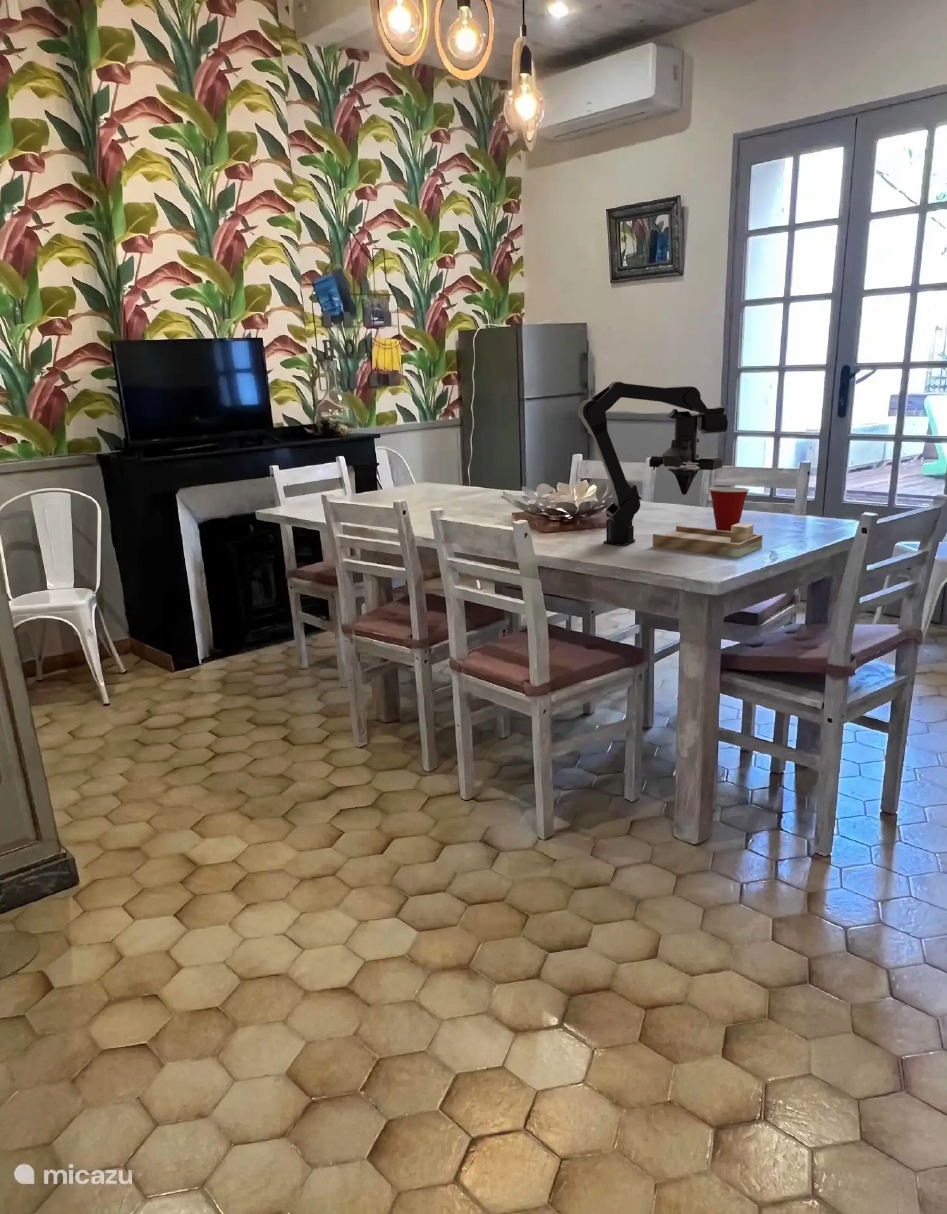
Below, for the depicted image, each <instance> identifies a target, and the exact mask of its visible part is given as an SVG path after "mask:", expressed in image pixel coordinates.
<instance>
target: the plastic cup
mask: <svg viewBox="0 0 947 1214" xmlns="http://www.w3.org/2000/svg"><path fill="white" fill-rule="evenodd" d="M708 490H709V493H710V497H711V501H712V508H713V509H712V510H713V518H714V522H715V528H716V529H715V530H723V531H731V526H733V525H735V524H738V523H740V522H741V517H742V514H743V508H744V507H745V506H744V504H745V501H746V498H747V494H748V492H749V491H750V488H745V487H735V486H730V487H729V486H728V487H727V486H715V487H712V486H711V487H708Z"/></svg>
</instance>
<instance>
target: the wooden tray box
mask: <svg viewBox="0 0 947 1214" xmlns="http://www.w3.org/2000/svg"><path fill="white" fill-rule="evenodd" d="M675 528H676V529H675V530H674V531H672V532H668V533H665V534H657V533H653V534H652V547H655V548H663V549H670V550H671V549H672V550H680V551H687V552H694V553H701V554H711V555H718V556H726V557H733V558H734V557H735V558H741V557H743V556H745V555H748V554H750V553H751V552H754V551H757V550H758V549H759V550H760V549H761V548H763V534H758V533H753V537H752V538H750V539H748V540H745V541H743V542H740V543H739V542H731V531H723V530H717V529H712V528H711V529H710V528H704V527H702V528H701V527H693V526H683V525H676V527H675Z"/></svg>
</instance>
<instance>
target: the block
mask: <svg viewBox="0 0 947 1214" xmlns="http://www.w3.org/2000/svg"><path fill="white" fill-rule="evenodd" d="M753 534H754V524H750V523H749V524H748V523H740V522H739V523H738V524H735V525H733V526H731V542H739V543H740V542H743V541H745V540H748V539H750V538H752V537H753Z"/></svg>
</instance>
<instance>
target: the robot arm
mask: <svg viewBox="0 0 947 1214" xmlns="http://www.w3.org/2000/svg"><path fill="white" fill-rule="evenodd" d="M621 398H626V399H634V400H641V401H650V402H660V403H663V404H666V405H670V406H672V407H676V408H672V410H671V411H670V412H669V413H668V414H667V415H666V418H667V419H671V420H673V419H674V439H672V440H671V442H670V444H671V445H670V448H667V450H665V451H664V452H663V453H661V454H656V455H652V456H651V457H650V458H649V460H648V462H649V463H648V466H649V467H650V468H660V467H661V466H662V465H663V467H665V468H666V467H667V470H668V472H671V473H672V475H674V476H675V478H676V479H675V480H676V482H677V483H678V486H679V489H680V492H681V495H682V496H683V495H685V496H686V495H687V493H688V492H689V489H690V487H691V485H692V483H693V481H694V479H695V477H696V476H697V474H698V472H699V471H715V470H717V469H722V468H723V459H722V458H721V457H720V456H704V457H701V458H699V457H700V456H699V455H700V454H699V453H697V448H698V447H697V445H698V444H697V443H700V438H698V431H700V433H701V435H712V434H714V435H716V434H725V433H726V432H727V430H728V424H729V419H728V417H727V413H726V408H725V406H716V407H707V406H706V404H705V403H704V402H703V400H702V397H701V391H700V390H699V389H698V387H695V386H691V385H675V386H674V385H673V386H665V387H664V386H663V387H660V386H651V385H642V384H633V383H624V382H623V381H613V382H610V384H609V385H608V386H607V387H605V388H604V389H602V390H601V391H600V392H598V393H597V394H595V395H594V396H593V397H591V398H590V399H589V398H587V399H584V400H583V401H581V403H580V404H579V406H578V408H577V414H578V417H579V419H580V420H581V422H582V424H583V426H584V427H585V428H586V429H587V431H588V432H589V434H590V435H591V436H592V438H593V439H592V440H593V442H594V444H595V447H596V449H597V452H598V454H599V457H600V459H601V462H602V465H603V467H604V470H605V473H606V475H607V478H608V481H609V483H610V493H611V499H612V502H611V504H610V505H609V506H608V507H606V509H605V510H604V512H605V516H606V518H607V519H606V532H605V533H606V539H605V540H603V541H602V543H603V544H607V545H615V546H627V545H628V544H631V543H634V542H636V539H634V532H635V531H634V530H635V529H634V525H633V519H634V517H635V515H636V514H637V513H638V512H639V510H640V508H641V500H642V499H643V498H642V497H641V496H640V494H639V491H638V488H637V487H638V486H637V485H636V484H634V483H632V482H630V481H629V482H628V481H627V478H626V476H625V473H624V471H623V468H622V465H621V462H620V460H619V458H618V455H617V453H616V450H615V447H614V445H613V442H612V439H611V437H610V434H609V430H608V418H607V414H606V412H608V411H609V409H611V408H612V407H613V406H614V405H615V404H616V403H617V402H618V401H619V400H620V399H621ZM677 408H679V409H684V411H679V410H677ZM686 410H687V411H686ZM691 412H695V413H698V414H691ZM668 467H669V468H668Z"/></svg>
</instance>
